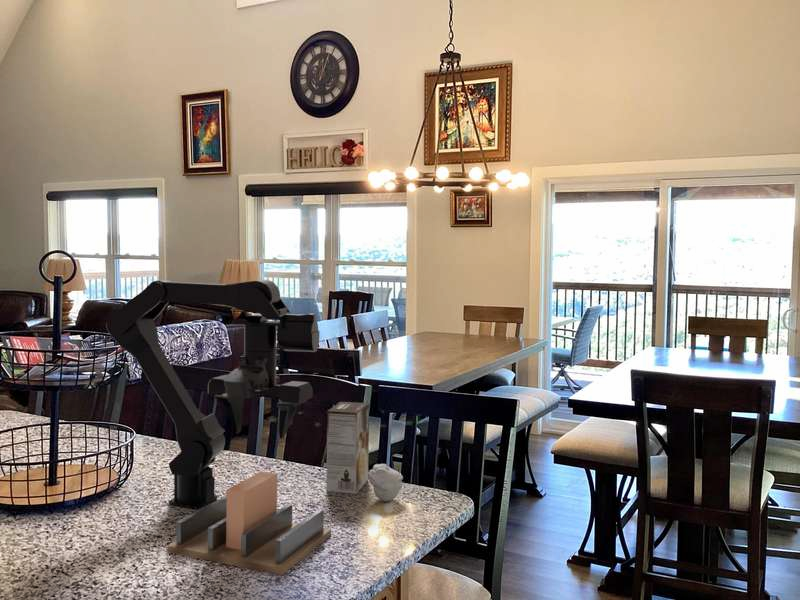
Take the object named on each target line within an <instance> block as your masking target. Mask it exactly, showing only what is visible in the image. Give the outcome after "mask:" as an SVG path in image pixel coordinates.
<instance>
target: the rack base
mask: <svg viewBox="0 0 800 600" xmlns="http://www.w3.org/2000/svg"><path fill="white" fill-rule="evenodd" d="M297 524H299V522H298V523H296V522H292V526H290V527H289V528H287V529H286V530H284V531H283V532H282V533H280V534H279V535H277V536H276V537H275V538H273V539H272V540H270V541H269V542H267V543H266V544H265V545H263V546H262V547H260V548H259V549H258V550H256V551H255V552H253V553H252V554H250V555H249V556H248V557H246V558H244V557H241V550H239V549H233V548H228V547H226V543H225V544H223V545H222V546H220V547H219V548H217V549H216V550H214V551H209V550H208V529H207V530H206V531H204V532H202V533H201V534H199V535H197V536H195V537H194V538H192V539H190V540H189V541H187V542H185V543H183V544H182V545H178V544H176V540H174V541H173V542H172V543H170V544H168V545H167V547H166V548H167V549H166V550H167V553H170V554H176V555H180V556H184V557H189V558H194V559H195V558H196V559H200V560H205V561H210V562H216V563H219V564H220V563H221V564H225V565H228V566H229V565H230V566H236V567H240V568H243V569H244V568H246V569H250V570H255V571H261V572H266V573H270V574H275V575H280V576H283V575H284V574H286V573H287V571H289V570H290V569H292V567H294V566H295V565H297V564H298V563H299V562H300V561H301V560H303V559H304V558H305V557H307V555H309V554H311V552H313V550H315V549H316V548H317V547H318V546H319V545H321V544H322V543H323V542H324V541H326V540H327V539H328V538H329V537H330V536H331V535H332V529H331V528H325V527H324V530H323V531H322V532H321V533H320V534H318V535H317V536H316V537H315V538H313V539H312V540H311V541H309V542H308V543H307V544H306V545H304V546H303V547H302V548H301V549H299V550H298V551H297V552H295V553H294V554H293V555H292V556H290V557H289V558H288V559H287V560H285V561H284V562H283V563H281V564H275V555H276V539H278V538H279V537H281V536H282V535H283V534H285V533H286V532H288V531H289V530H290V529H292V528H293V527H295V526H296V525H297Z"/></svg>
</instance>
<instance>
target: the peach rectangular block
mask: <svg viewBox="0 0 800 600" xmlns="http://www.w3.org/2000/svg"><path fill="white" fill-rule="evenodd" d="M226 495H227V518H226V547H228V548H233V549H239V550H241V534H242V533H243V532H245V531H247V530H248V529H250V528H251V527H253V526H254V525H256V524H257V523H259V522H261V521H262V520H264V519H265V518H267V517H268V516H270V515H271V514H273V513H275V512H276V511H278V473H275V472H267V471H259V472H257V473H256V474H254V475H251V476H250V477H248V478H246V479H244V480H242V481H240V482H238V483H236V484H234V485H232V486H231V487H229V488H227V489H226Z"/></svg>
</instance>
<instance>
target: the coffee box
mask: <svg viewBox="0 0 800 600" xmlns="http://www.w3.org/2000/svg"><path fill="white" fill-rule="evenodd" d="M326 414H327V415H326V416H327V417H326V425H327V426H326V490H325V491H326V492H330V493H341V494H342V493H344V494H354V495H357V494H358V492H360V490H361V489H362V488H363V486H365V484H366V483H367V481H369V480H368V476H369V474H368V473H367V472H369V446H370V445H369V444H370V442H369V438H370V437H369V436H370V434H369V432H370V402H369V403H368V402H354V401H353V402H352V401H339V402H338V403H336V405H334V406H332V407H331V408H330V409H328V410H327V413H326ZM356 493H357V494H356Z"/></svg>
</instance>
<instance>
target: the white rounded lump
mask: <svg viewBox="0 0 800 600" xmlns="http://www.w3.org/2000/svg"><path fill="white" fill-rule="evenodd" d="M367 473H368V480H367V481H368V482H369V483H370V485H371V486H372V488H373V494H374V495H375V497H376V498H377V499H379V500H380V501H382V502H391V501H394V500H395V499H396V498H397V497H398V495H399V493H400V491H401V490H402V486H403V481H402V480H403V479H404V476H403V475H402V474H401V473H400V472H399V471H397V470H395V469H393V468H391V467H389V466H388V465H387V464H386V463H380V464H379V463H375V464H374V465H373V467H372V469H371V468H370V470H368V472H367Z"/></svg>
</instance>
